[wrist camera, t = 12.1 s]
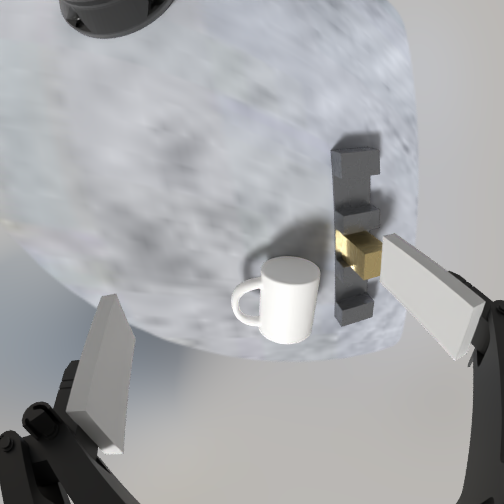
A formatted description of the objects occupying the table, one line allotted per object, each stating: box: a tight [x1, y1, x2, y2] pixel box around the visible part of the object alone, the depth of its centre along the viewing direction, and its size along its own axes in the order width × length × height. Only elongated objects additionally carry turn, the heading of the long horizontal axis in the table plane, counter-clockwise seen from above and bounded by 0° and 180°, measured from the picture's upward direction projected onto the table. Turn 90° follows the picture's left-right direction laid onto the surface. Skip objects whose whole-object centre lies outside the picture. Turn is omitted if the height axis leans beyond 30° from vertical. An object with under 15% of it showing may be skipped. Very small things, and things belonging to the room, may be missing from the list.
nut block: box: [342, 231, 383, 280], centre depth 43 cm, size 4×4×7 cm
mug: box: [231, 256, 320, 344], centre depth 43 cm, size 12×10×8 cm
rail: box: [331, 147, 380, 327], centre depth 45 cm, size 28×6×3 cm, turn 8°
